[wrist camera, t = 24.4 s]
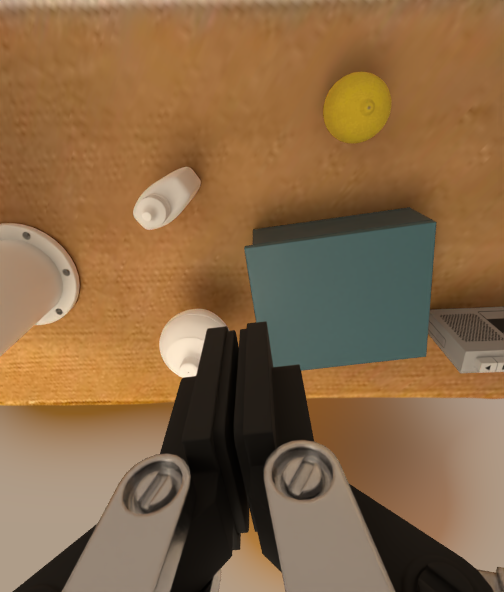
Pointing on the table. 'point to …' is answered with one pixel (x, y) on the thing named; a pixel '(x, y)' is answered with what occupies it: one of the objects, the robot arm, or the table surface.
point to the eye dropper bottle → (166, 198)
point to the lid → (345, 295)
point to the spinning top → (186, 340)
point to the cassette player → (470, 337)
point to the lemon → (357, 107)
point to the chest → (337, 225)
